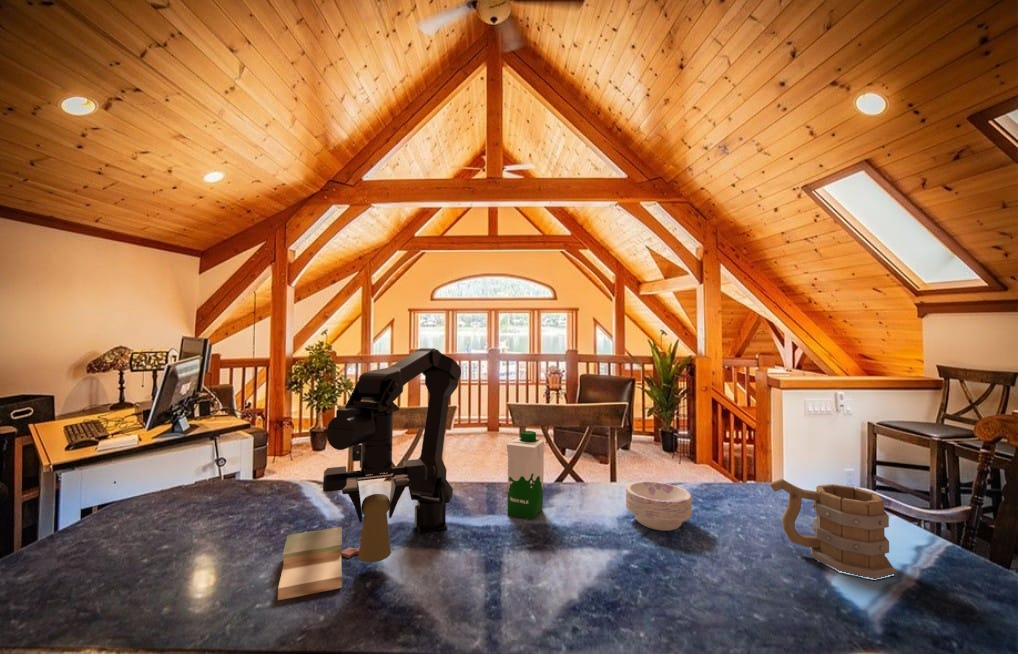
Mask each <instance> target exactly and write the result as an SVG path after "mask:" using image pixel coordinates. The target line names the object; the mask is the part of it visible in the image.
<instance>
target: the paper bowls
mask: <svg viewBox="0 0 1018 654" xmlns="http://www.w3.org/2000/svg"><path fill="white" fill-rule="evenodd" d="M692 501H693V499H692V494H691V493H690V492H689V491H688V490H687V489H684V488H683V487H680V486H677V485H673V484H669V483H664V482H658V481H647V480H644V481H636V482H632V483H629V484H627V485H626V487H625V507H626V510H628V512H630V513H631V514H632V515H634V517H635V520H636V521H637V522H638V523H639V524H640V525H642V526H643V527H645V528H649V529H651V530H655V531H662V532H666V531H675V530H677V529H679V528H680V527H681V525H682V523H683V522H687V521H689V520H690V519H691V518H692V514H693V512H692V507H693V506H692V505H693V504H692V503H693V502H692Z"/></svg>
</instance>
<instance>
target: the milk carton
mask: <svg viewBox="0 0 1018 654" xmlns="http://www.w3.org/2000/svg"><path fill="white" fill-rule="evenodd" d="M506 450H507V451H506V452H507V514H506V515H507V516H509V515H511V516H510V517H514V516H516V518H520V517H522V518H521V519H525V518H528V519H527V520H531V519H532V520H531V521H534V520H535V519H536V517H537V516H538V515H539V514H540V513H541V512H542V510H543V502H544V470H545V468H544V463H545V462H544V461H545V459H544V456H545V455H544V454H545V440H544V439H543V440H542V439H541V440H540V439H537V432H535V431H532V430H523V431H520V437H517V438H515V439H513V440H510V441H509V442H508V443H507V444H506ZM539 512H540V513H539ZM533 519H534V520H533Z"/></svg>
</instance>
